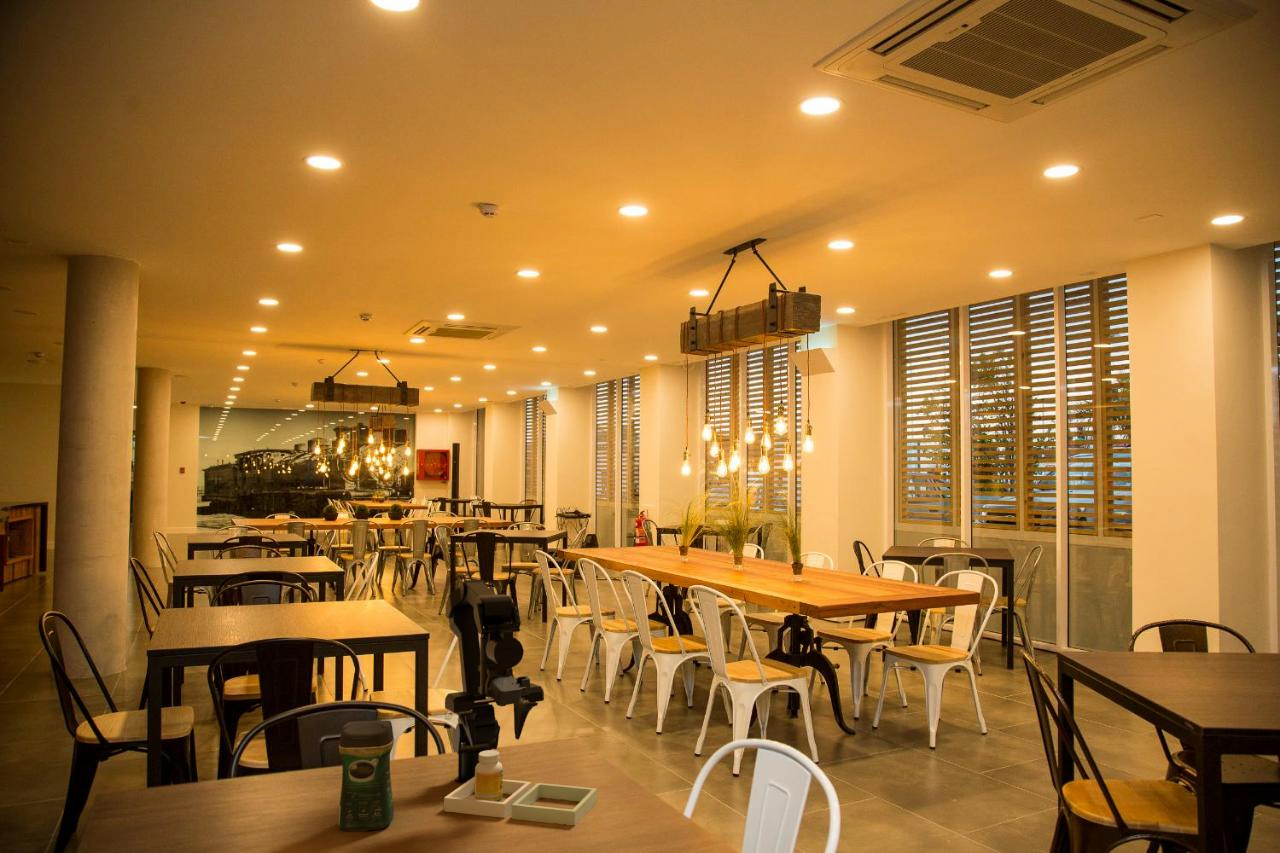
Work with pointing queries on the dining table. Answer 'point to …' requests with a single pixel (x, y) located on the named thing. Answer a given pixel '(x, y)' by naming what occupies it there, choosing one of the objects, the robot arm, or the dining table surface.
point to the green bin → (554, 815)
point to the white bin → (482, 807)
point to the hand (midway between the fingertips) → (495, 742)
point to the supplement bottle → (489, 777)
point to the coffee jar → (366, 775)
